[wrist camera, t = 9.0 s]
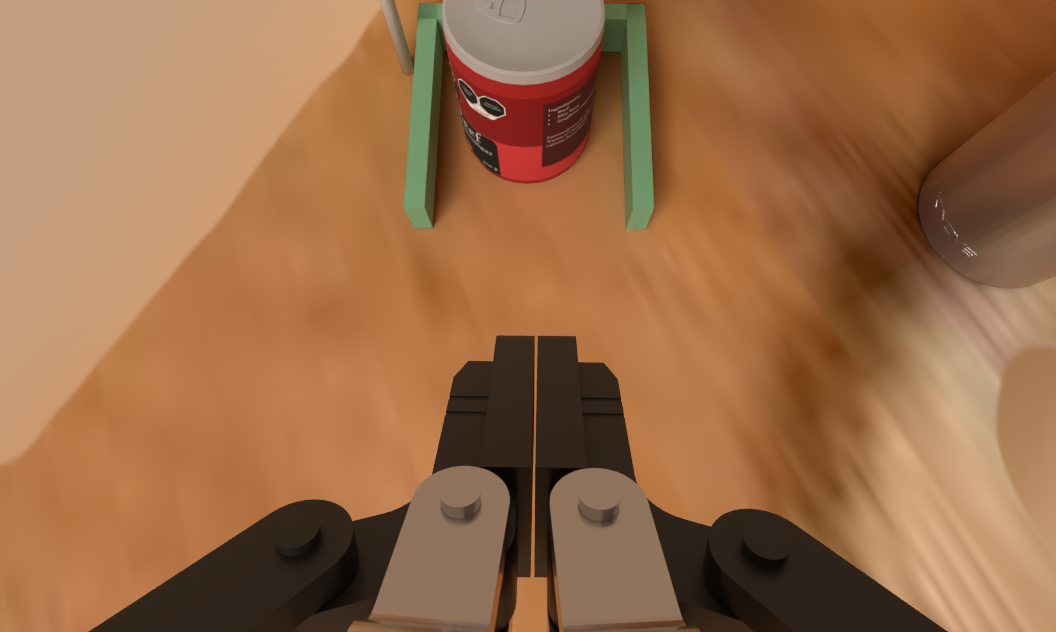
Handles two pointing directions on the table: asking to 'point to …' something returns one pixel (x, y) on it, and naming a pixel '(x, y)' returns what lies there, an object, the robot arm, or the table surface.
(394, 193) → the table surface
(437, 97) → the green u-shaped frame
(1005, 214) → the robot arm
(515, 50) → the canned food
